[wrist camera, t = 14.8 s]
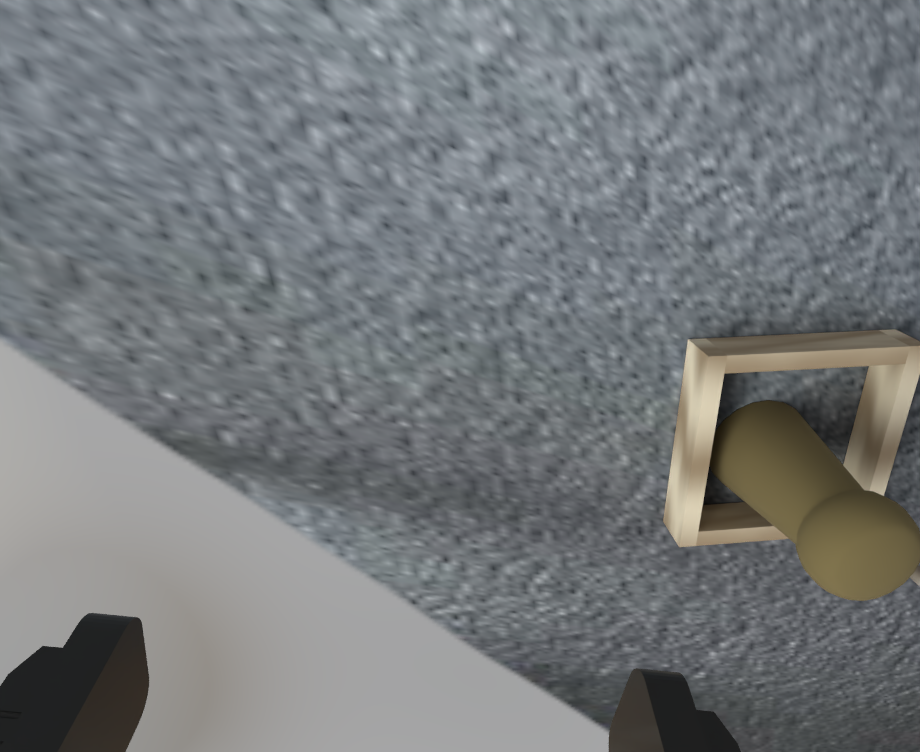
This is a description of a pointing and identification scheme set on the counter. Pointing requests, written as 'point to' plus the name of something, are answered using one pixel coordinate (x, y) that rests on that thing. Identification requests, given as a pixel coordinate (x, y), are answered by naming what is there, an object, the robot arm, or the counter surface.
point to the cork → (815, 502)
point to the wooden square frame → (710, 358)
